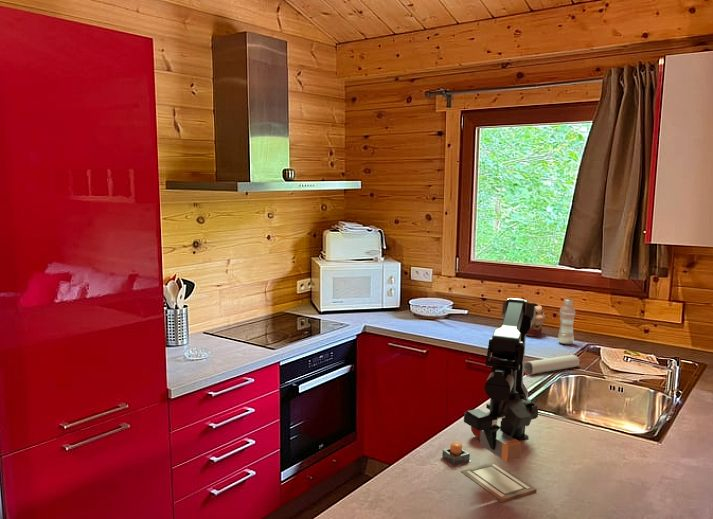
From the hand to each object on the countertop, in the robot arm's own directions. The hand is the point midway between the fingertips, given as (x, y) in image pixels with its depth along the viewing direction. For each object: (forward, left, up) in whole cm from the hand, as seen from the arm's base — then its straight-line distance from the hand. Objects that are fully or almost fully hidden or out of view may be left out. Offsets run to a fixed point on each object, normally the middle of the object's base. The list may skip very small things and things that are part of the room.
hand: (499, 447), depth 150 cm
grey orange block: (0, 0, -1) cm, 1 cm away
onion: (-11, -20, -9) cm, 25 cm away
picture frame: (0, 0, -9) cm, 9 cm away
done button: (+3, -13, -7) cm, 15 cm away
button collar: (+3, -13, -8) cm, 16 cm away
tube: (-76, -57, -9) cm, 95 cm away
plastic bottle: (-107, -80, -9) cm, 135 cm away
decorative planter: (-105, -101, -9) cm, 146 cm away
